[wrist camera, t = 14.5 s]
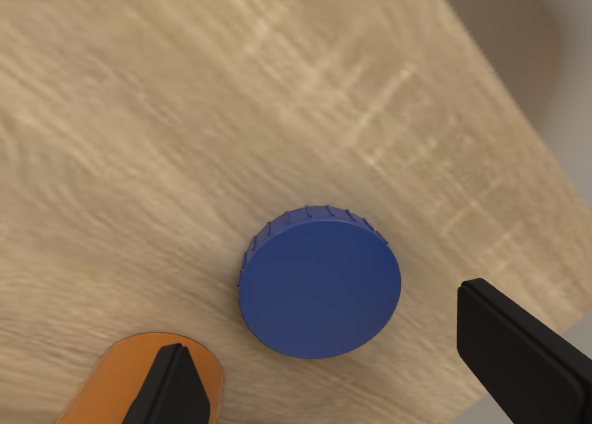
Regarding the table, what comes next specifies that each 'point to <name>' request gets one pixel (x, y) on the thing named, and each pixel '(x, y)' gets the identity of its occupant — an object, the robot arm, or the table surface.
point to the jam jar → (135, 379)
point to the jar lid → (318, 283)
